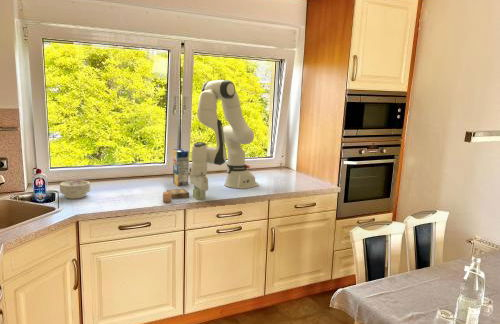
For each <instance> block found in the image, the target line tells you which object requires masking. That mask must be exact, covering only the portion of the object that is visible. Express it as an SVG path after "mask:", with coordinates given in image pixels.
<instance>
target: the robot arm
mask: <svg viewBox="0 0 500 324" xmlns="http://www.w3.org/2000/svg"><path fill="white" fill-rule="evenodd" d="M219 100H220V101H221V105H222V111H223V114H224V115H223V116H224V119H225V120H226V122H228V125H224V126H223V123H222V120H221V119H219V116H218V113H217V112H218V111H217V110H218V109H217V108H218V105H217V104H218V103H217V102H218V101H219ZM197 119H198V121H199V122H200V123H201V124H202V125H203V126H206V127H207V128H210V129H211V130H212V131H213V132H214V133H215V141H216V147H215V146H214V147H213V146H207V143H206V142H205V141H198V142H194V143H193V145H192V148H191V161H192V163H191V167H188V173H189V181H190V183H191V185H192V186H193V189H194V188H199V189H200V193H199V196H200V197H203V193H204V191H205V192H207V191H209V178H208V176H207V175H208V164H212V165H217V166H222V165H224V163H226V161H227V165H226V178H225V182H224V186H225V187H228V188H232V189H240V190H242V189H249V188H254V187H259V185H260V184H259V183H258V182H257V181H256V176H255V175H254V174H253V173H252V172H250V171H249V170H248V169H250V168H251V166H250V165H249V164H245V163H246V153H245V152H246V151H245V150H244V149H243V147H242V145H250V144H251V143H253V141H254V140H255V133H254V131H253V129H251V127H250V126H249V124H248V123H247V122H246V120H245V118H244V115H243V112H242V107H241V103H240V97H239V95H238V92H237V89H236V87H235V84H234V82H233V81H232V80H228V79H225V80H224V79H216V80H209V81H208V80H207V81H205V82H203V84H202V87H201V92H200V93H199V97H198V102H197Z"/></svg>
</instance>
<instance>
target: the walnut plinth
mask: <svg viewBox="0 0 500 324" xmlns="http://www.w3.org/2000/svg"><path fill="white" fill-rule="evenodd" d="M166 192H171V200H172V199H173V200H174V199H183V198H190V192H189V191H187V190H186V189H185V188H174V189H173V188H172V189H166Z"/></svg>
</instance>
